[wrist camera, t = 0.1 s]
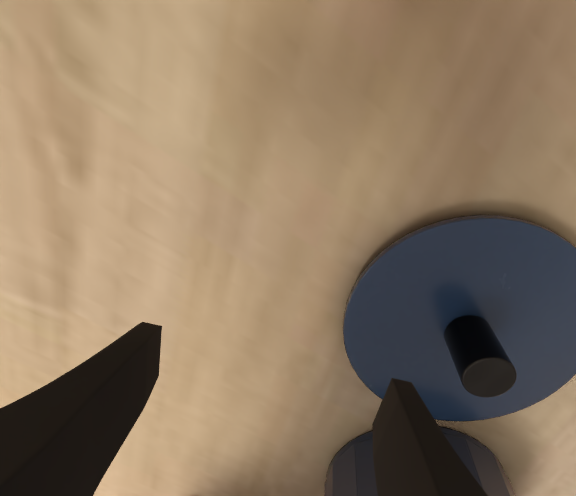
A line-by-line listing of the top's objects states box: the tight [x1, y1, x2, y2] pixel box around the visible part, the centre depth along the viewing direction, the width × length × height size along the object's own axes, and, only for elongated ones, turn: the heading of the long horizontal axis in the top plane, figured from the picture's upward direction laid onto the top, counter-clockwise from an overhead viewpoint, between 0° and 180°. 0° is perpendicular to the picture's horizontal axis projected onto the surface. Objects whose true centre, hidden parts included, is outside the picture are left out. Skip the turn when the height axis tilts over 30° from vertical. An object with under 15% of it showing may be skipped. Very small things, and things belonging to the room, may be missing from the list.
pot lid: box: [343, 215, 576, 421], centre depth 20 cm, size 13×13×4 cm
